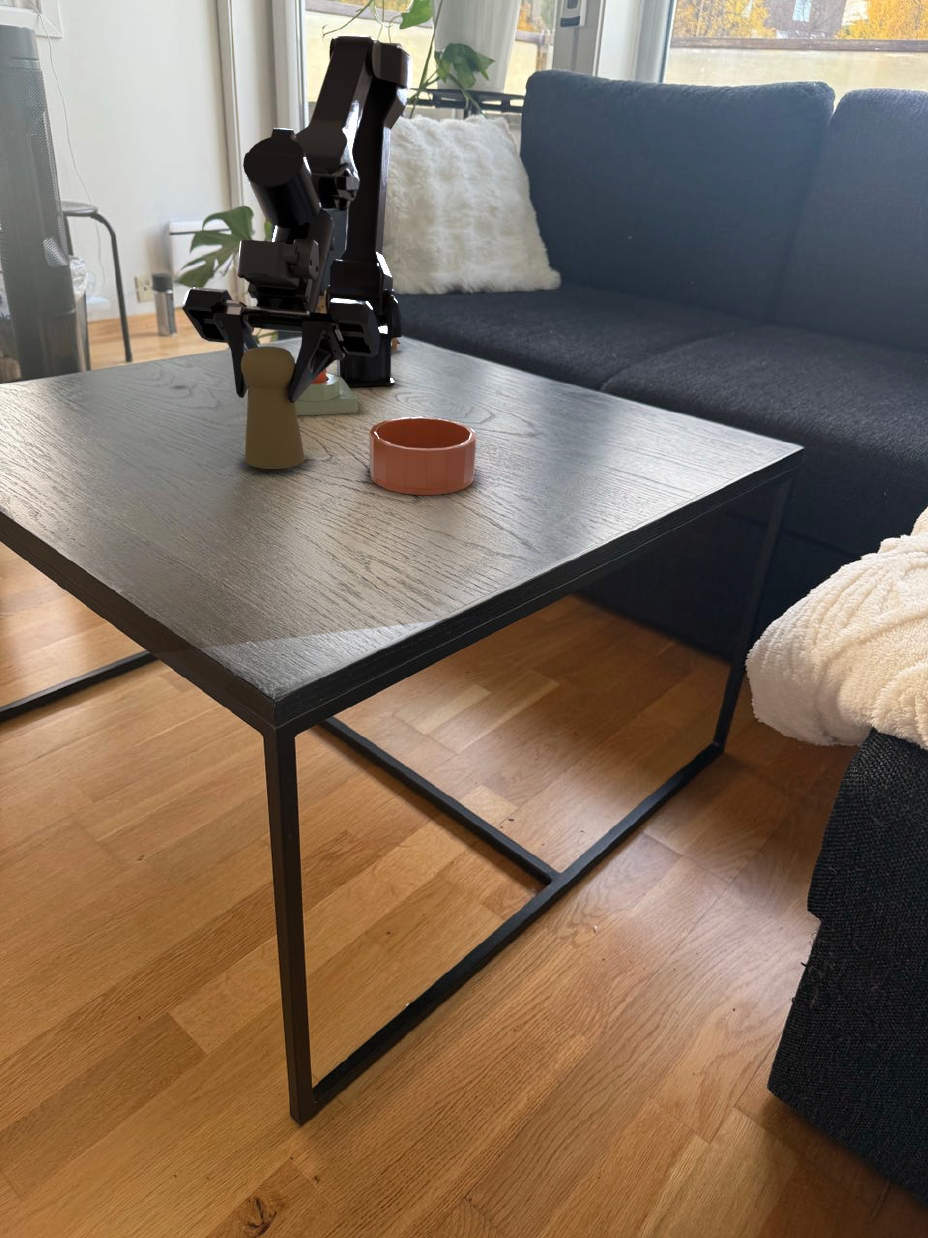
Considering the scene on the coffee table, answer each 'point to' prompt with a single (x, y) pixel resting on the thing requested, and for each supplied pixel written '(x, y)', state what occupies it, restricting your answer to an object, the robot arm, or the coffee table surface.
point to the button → (320, 378)
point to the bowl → (422, 455)
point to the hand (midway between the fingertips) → (264, 398)
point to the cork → (270, 410)
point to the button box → (327, 398)
